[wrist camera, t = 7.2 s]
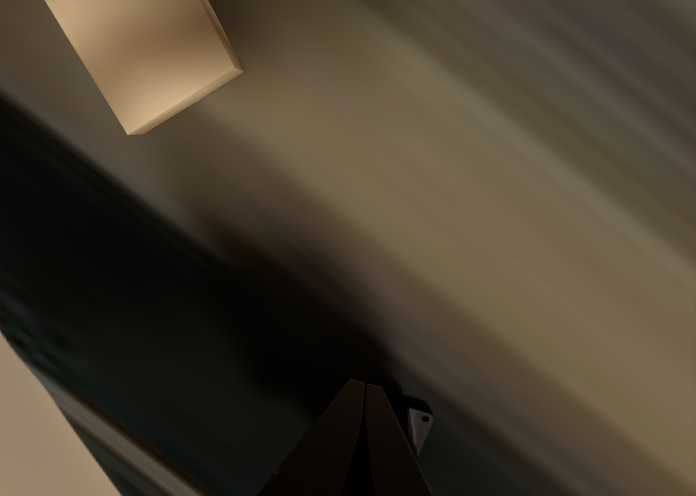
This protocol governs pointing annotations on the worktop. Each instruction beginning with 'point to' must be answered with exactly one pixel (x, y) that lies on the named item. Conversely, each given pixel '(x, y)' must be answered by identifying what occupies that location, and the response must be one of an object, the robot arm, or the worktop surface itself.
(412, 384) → the worktop surface
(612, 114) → the worktop surface
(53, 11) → the track
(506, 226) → the worktop surface
